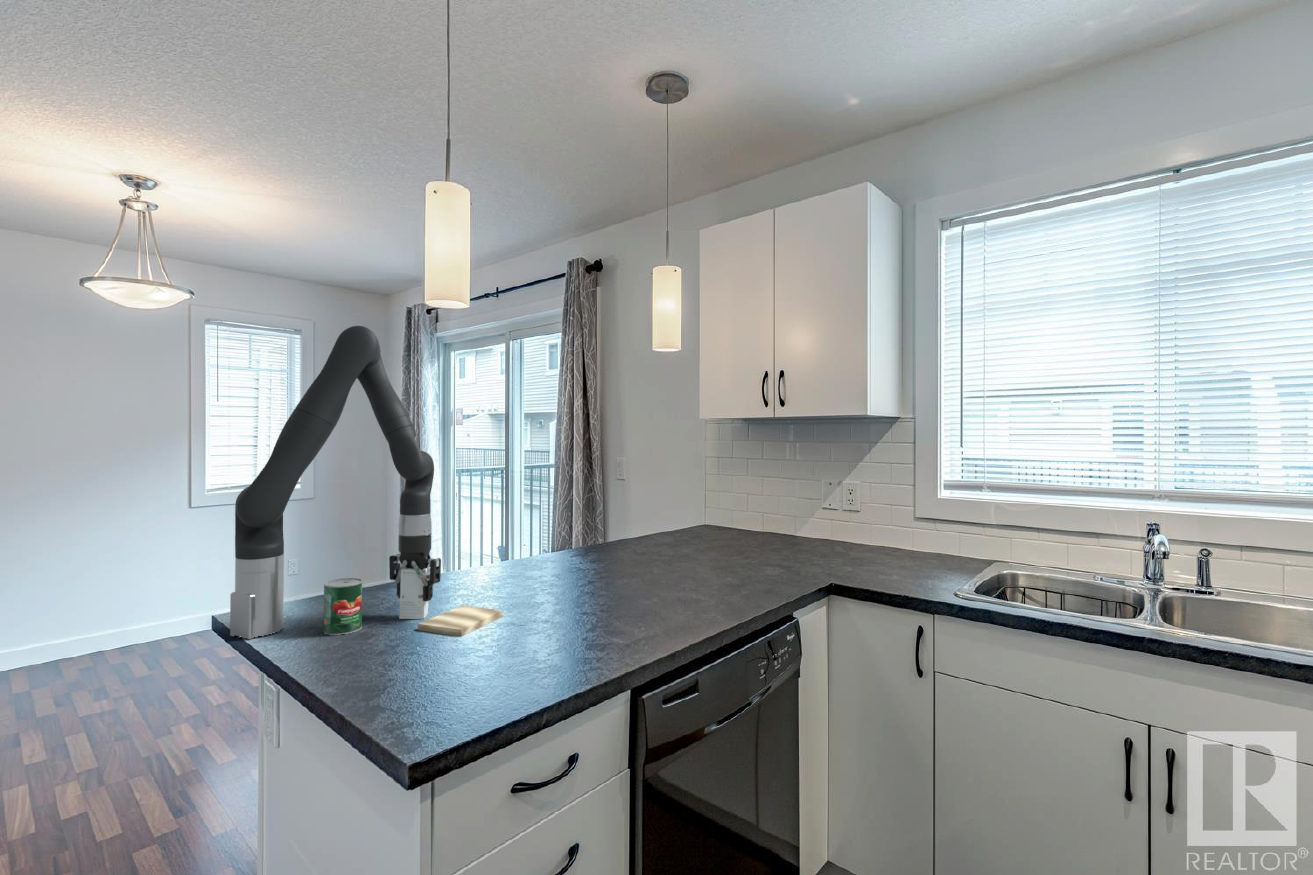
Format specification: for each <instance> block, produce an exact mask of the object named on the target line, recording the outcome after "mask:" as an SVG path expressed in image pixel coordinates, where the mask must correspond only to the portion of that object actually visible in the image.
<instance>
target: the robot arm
mask: <svg viewBox="0 0 1313 875" xmlns="http://www.w3.org/2000/svg"><path fill="white" fill-rule="evenodd" d="M356 380H358V382H359V384H360V385H361V387H362V388H363V390H364V392H365V395H366V396H367V399H368V401H369V403H370V406H371V409H372V412H373V414H374V416H375V419H376V421H377V424H378V426H379V428H380V430H381V432H382V434H383V435H384V437H385V439H386V441H387V443H388V448H389V452H390V454H391V458H392V462H393V465H394V467H395V469H396V471H397V473H398V474H399V475H400V477H402V478H403V479H405V481H404V482H405V483H404V488H403V490H402V492H401V494H400V497H399V499H400V500H399V518H398V519H399V520H398V552H399V553H400V554H398V553H397V554H393V555H392V554H391V555H390V556H389V565H388V566H389V579H390V580H391V581H395V583H396V595H397V599H400V581H401V570H402V569H403V568H404V569H405V568H411V569H415V571H416V573H417V575H418V577H419V578H420V579H421V580H422V582H423V584H424V586H423V601H425V602H427V601H428V602H429V601H431V600H432V598H433V597H434V596H433V594H434V589H433V588H434V585H435V584H437V583H438V584H439V583H441V574H442V573H441V571H442V570H441V569H442V559H441V558H440V557H438V558H432V557H431V555H430V552H431V550H432V516H431V507H432V505H431V501H432V500H431V492H432V487H433V481H434V476H435V464H434V460H433V457H432V456H431V454H429V453H428V452H426V451H424V450H420V448H419V445H418V443H417V440H416V437H417V430H416V429H415V426H414V424H413V422H412V420H411V418H410V416H409V414H408V412H407V410H406V408H405V406H404V403H402V400H400V397H399V396H398V393H396V391H395V389H394V388H393V386H392V384H391V382H390V379H389V376H388V375H387V372H386V368H385V366H384V362H383V358H382V354H381V346H380V342H379V340H378V337H377V336H376V334H375V333H374V332H373V331H372V330H371V329H370V328H368V327H367V326H364V325H352V326H350V327H348V328H346V329H344V330H343V331H341V333H340V334H339V336H338V337H337V339H336V341H335V343H334V345H333V346H332V349H331V351H330V353H329V355H328V357H327V360H326V362H325V364H324V365H323V367H322V369H321V371H320V372H319V374H318V375H317V376H316V378H315V379H314V380H313V381H312V383H311V385H310V386H309V387H308V388H307V390H306V391H305V393H304V394H303V396H302V397H301V399H300V400H299V402H298V403H297V405H296V406H295V407H294V409H293V411H292V412H291V414H290V415H289V416H288V418H287V421H286V422H285V424H284V426H283V427H282V428H281V431H280V433H279V435H278V437H277V440H276V442H275V445H274V447H273V450H272V451H271V455H270V456H269V459H268V460H267V462H266V463H265V465H264V467H263V468H262V469H261V471H260V472H259V473H258V475H257V476H256V477H255V479H254V480H253V481H252V482H251V484H249V486H247V487H245V488H244V489H242V490H241V491H240V492H239V494H238V496H237V497H236V499H235V503H234V504H235V505H234V506H235V508H234V510H235V511H234V517H235V518H234V552H235V553H234V558H235V560H234V561H235V563H234V566H235V568H234V570H235V571H234V573H235V574H234V591H232V592H231V593H230V595H229V596H230V597H229V598H230V601H229V602H230V611H229V612H230V614H229V615H230V616H229V618H230V619H229V620H230V621H229V628H230V629H229V636H230V637H234V635H237V636H241V637H243V638H242V639H246V638H247V640H251V639H255V638H259V637H258V636H262V635H267V634H271V633H273V632H277V633H279V632H281V631H282V630H283V629H284V582H285V581H284V572H285V569H284V568H285V563H284V562H285V554H284V553H285V541H284V512H285V511H286V507H287V505H288V504H289V500H290V498H291V496H292V494H293V492H294V491H295V488H296V486H297V484H298V482H299V480H300V478H301V477H302V475H303V474H304V472H306V470H307V468H308V467H309V466H310V464H311V463H312V462H313V460H315V458H316V456H317V455H318V454H319V452H320V451H321V450H322V448H323V446H324V445H325V444H326V442H327V441H328V439H329V437H330V436H331V434H332V432H333V431H334V429H335V427H336V426H337V424H338V422H339V421H340V418H341V416H342V413H343V411H344V408H345V405H346V403H347V399H348V396H349V394H350V392H351V389H352V387H353V385H354V384H355V381H356ZM429 567H430V568H429ZM426 568H427V569H428V571H427V572H426V573H423V572H422V570H423V569H426ZM426 576H427V578H426ZM427 579H428V580H427ZM282 628H283V629H282ZM281 629H282V630H281ZM280 630H281V631H280ZM278 631H279V632H278ZM271 635H272V634H271ZM267 636H268V635H267ZM254 637H255V638H254ZM262 637H263V636H262Z"/></svg>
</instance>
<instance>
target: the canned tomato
mask: <svg viewBox="0 0 1313 875" xmlns="http://www.w3.org/2000/svg"><path fill="white" fill-rule="evenodd" d="M362 615H363V579H361V578H357V577H346V578H337V579H336V578H335V579H332V580H327V581H326V582H324V583H323V632H324V633H326V634H330V635H329V636H334V635H335V636H341V635H340V634H346V635H349V634H348V633H351V634H353V633H352V632H354V633H357V632H359V631H360V630H361V629H362V628H363V626H362V624H363V622H362V621H363V616H362ZM324 633H323V634H324ZM326 634H325V635H326Z"/></svg>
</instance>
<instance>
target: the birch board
mask: <svg viewBox="0 0 1313 875" xmlns="http://www.w3.org/2000/svg"><path fill="white" fill-rule="evenodd" d="M503 612H504V611H503V610H501V609H492V608H487V607H486V608H484V607H477V606H468V605H460V606H459V607H455V608H453V609H451V610H448V611H446V612H443V613H440V614H438V615H436V616H434V617H431V618H429V619H426V620H423V621H421V622H419V623H417V630H418V631H422V632H428V633H436V634H443V635H448V636H449V635H450V636H457V637H464V636H465V635H467V634H469V633H472V632H473V631H476V630H478V629H480V628H482V627H485V626H486V625H488V624H490V623H492V622H493V623H494V621H496V620H498V619H501V618H503V616H504V615H503V614H504V613H503Z"/></svg>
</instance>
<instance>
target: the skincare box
mask: <svg viewBox="0 0 1313 875" xmlns="http://www.w3.org/2000/svg"><path fill="white" fill-rule="evenodd" d="M429 568H430V567H429ZM427 571H428V569H427V568H426V569H423V570H422V572H423V573H426V572H427ZM426 578H427V576H426ZM427 580H428V579H427ZM423 586H424V584H423V582H422V580H421V579H420V578H419V577H418V575H417V573H416V571H415V569H411V568H405V569H404V568H403V569H402V570H401V581H400V598H399V614H398V619H399V620H422V619H423V620H424V619H425V618H426V616H428V614H429V601H427V602H425V601H423Z"/></svg>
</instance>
